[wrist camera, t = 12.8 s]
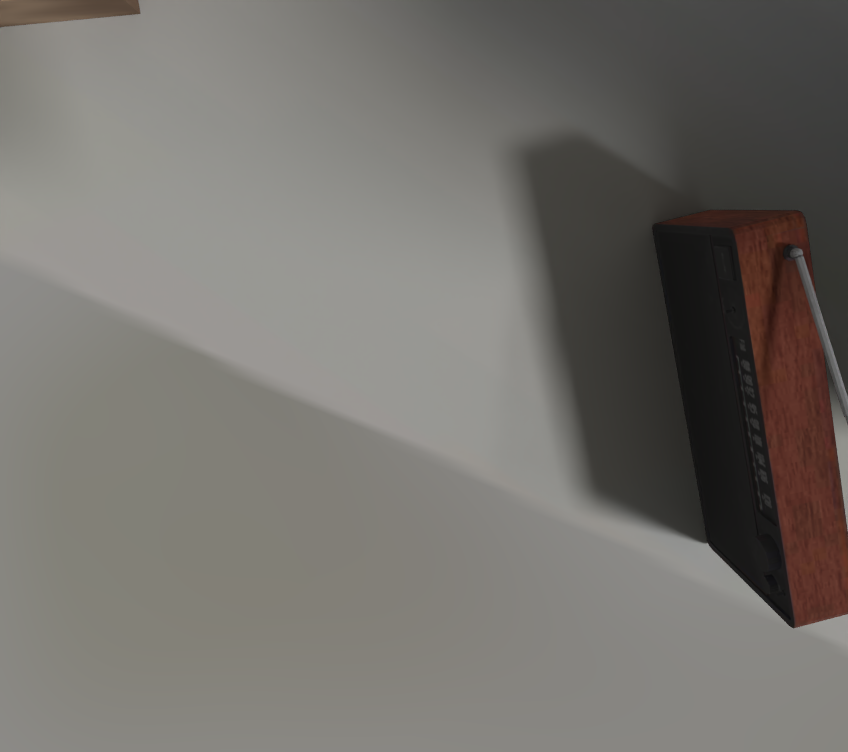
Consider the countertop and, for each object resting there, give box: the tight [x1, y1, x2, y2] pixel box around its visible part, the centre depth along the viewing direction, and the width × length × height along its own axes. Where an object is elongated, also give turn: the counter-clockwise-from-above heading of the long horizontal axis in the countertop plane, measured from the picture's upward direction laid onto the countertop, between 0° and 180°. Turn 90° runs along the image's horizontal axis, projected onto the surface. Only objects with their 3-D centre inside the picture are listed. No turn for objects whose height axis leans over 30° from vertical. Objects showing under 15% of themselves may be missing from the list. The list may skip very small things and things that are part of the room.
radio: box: [652, 210, 848, 628], centre depth 32 cm, size 19×3×15 cm, turn 14°
